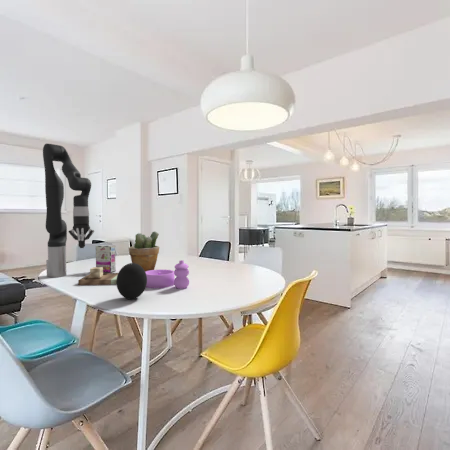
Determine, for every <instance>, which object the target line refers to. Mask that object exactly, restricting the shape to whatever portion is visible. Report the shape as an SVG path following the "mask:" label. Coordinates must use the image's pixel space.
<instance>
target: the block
mask: <svg viewBox="0 0 450 450" xmlns="http://www.w3.org/2000/svg"><path fill="white" fill-rule="evenodd" d="M103 273H104V272H103V267H96V266H95V267H94V266H93V267H91V268H90V269H89V274H90V277H101V276H103Z"/></svg>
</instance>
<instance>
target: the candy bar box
mask: <svg viewBox="0 0 450 450" xmlns="http://www.w3.org/2000/svg"><path fill="white" fill-rule="evenodd" d="M95 267H103V273H116V245H110V244H109V245H107V244H106V245H105V244H104V245H103V244H100V245H95Z"/></svg>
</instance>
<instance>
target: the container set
mask: <svg viewBox="0 0 450 450" xmlns="http://www.w3.org/2000/svg"><path fill="white" fill-rule="evenodd" d="M188 275H190V270H189V264H187V263H185V261H184V260H179V261H178V263H176V264H175V265H174V270H171V269H154V270H150V271H146V276H147V285H146V288H147V289H163V288H169V287H173V286H174V287H175V288H176V289H181V290H182V289H187V288H188V286H189V285H190V279H189V278H188V277H187V276H188Z"/></svg>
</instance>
